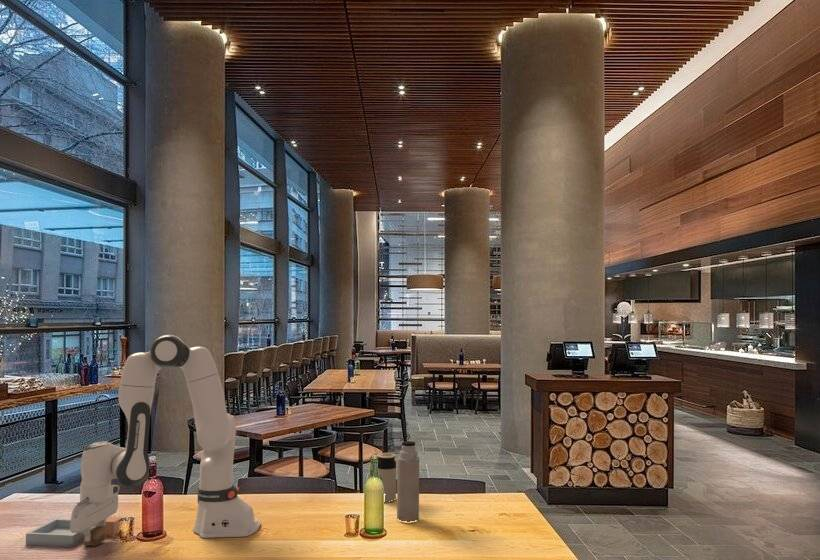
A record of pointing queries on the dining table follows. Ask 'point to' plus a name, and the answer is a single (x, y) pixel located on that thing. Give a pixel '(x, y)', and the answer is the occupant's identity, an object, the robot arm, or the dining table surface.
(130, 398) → the robot arm
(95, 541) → the walnut block
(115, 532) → the terracotta block
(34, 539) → the tray
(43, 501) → the dining table surface
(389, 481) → the travel mug
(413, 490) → the thermos bottle
